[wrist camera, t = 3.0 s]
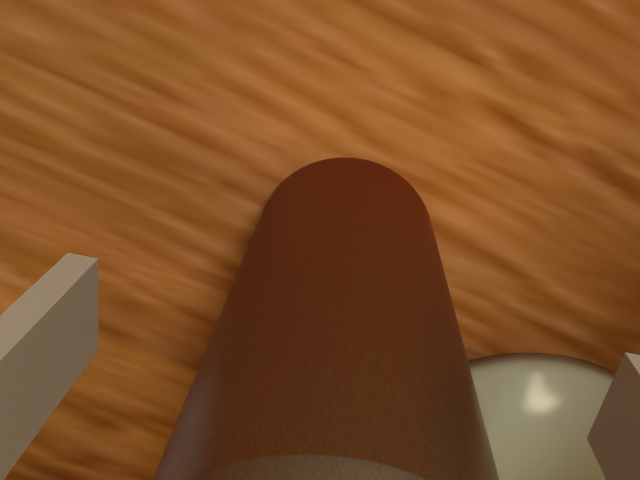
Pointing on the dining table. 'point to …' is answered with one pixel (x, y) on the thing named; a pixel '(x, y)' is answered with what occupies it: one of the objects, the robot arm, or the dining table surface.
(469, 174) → the dining table surface
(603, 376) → the dish
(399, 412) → the beverage can
